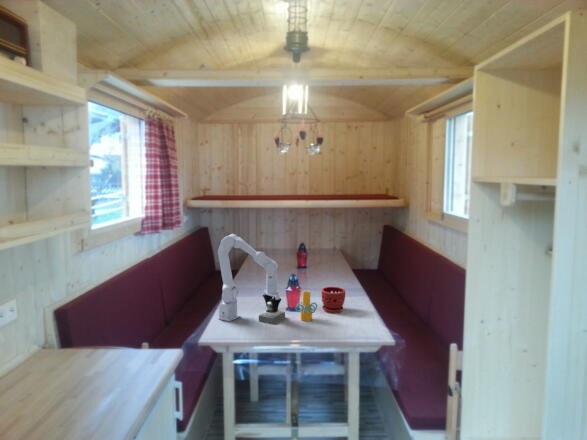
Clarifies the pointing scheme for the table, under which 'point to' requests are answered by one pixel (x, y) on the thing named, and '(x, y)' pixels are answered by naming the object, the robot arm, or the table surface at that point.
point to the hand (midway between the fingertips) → (272, 309)
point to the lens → (270, 307)
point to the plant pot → (333, 299)
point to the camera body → (271, 316)
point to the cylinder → (306, 306)
